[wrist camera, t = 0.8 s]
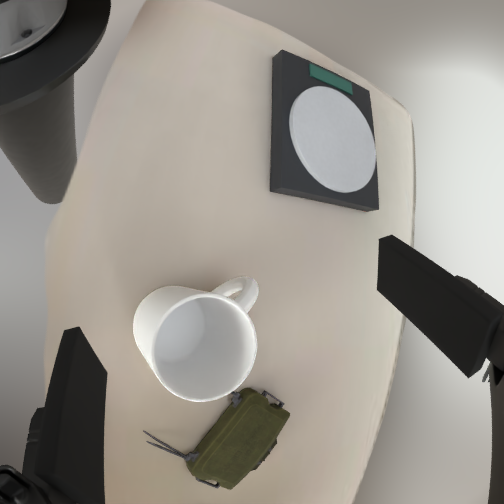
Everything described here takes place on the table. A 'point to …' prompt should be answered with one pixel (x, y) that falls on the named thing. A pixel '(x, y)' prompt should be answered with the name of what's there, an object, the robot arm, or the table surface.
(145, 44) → the table surface
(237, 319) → the mug
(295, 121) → the scale
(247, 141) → the table surface
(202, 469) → the landmine
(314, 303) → the table surface
